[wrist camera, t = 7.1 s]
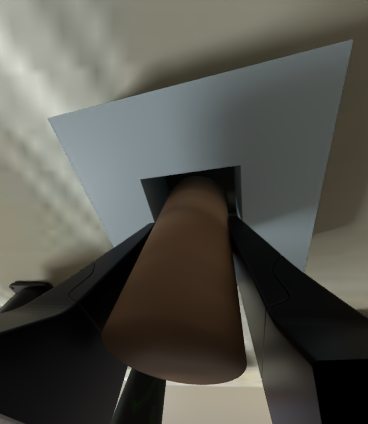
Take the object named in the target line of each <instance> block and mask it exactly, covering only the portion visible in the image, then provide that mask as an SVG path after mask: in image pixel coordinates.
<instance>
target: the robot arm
mask: <svg viewBox="0 0 368 424" xmlns="http://www.w3.org/2000/svg"><path fill="white" fill-rule="evenodd" d="M228 221H229V229H230V237H231V243H232V250H233V258H234V266H235V274H236V278H237V282H238V286H239V290H240V294H241V298H242V302H243V306H244V310H245V314H246V318H247V322H248V326H249V330H250V334H251V339H252V343H253V347H254V351H255V355H256V359H257V363H258V367H259V371H260V375H261V378H262V383H263V387H264V391H265V395H266V399H267V403H268V407H269V411H270V415H271V419H272V423H273V424H368V318H367V317H366V316H364V315H363V314H361V313H360V312H358V311H357V310H355V309H354V308H352V307H351V306H349V305H348V304H347V303H345V302H344V301H342V300H341V299H340V298H338V297H337V296H335V295H334V294H333V293H331V292H330V291H328V290H327V289H326V288H324V287H323V286H321V285H320V284H318V283H317V282H316V281H314V280H313V279H312V278H310V277H309V276H308V275H306V274H305V273H304V272H302V271H301V270H300V269H298V268H297V267H296V266H295V265H293V264H292V263H291V262H290V261H289V260H287V259H286V258H285V257H284V256H283V255H281V254H280V253H279V252H278V251H277V250H276V249H275V248H274V247H272V246H271V245H270V244H269V243H268V242H267V241H265V240H264V239H263V238H262V237H261V236H260V235H259V234H257V233H256V232H255V231H254V230H253V229H252V228H250V227H249V226H248V225H247V224H246V223H245V222H244V221H242V220H241V219H240V218H239V217H238V216H229V217H228ZM155 223H156V222H155ZM155 223H149V224H147V225H146V226H145V227H143V228H142V229H140V230H139V231H137V232H136V233H134V234H133V235H132V236H130V237H129V238H127V239H126V240H124V241H123V242H121V243H120V244H119V245H117V246H116V247H114V248H113V249H111V250H110V251H108V252H107V253H106V254H104V255H103V256H101V257H100V258H98V259H97V260H96V261H94V262H93V263H91V264H90V265H88V266H87V267H85V268H84V269H82V270H81V271H79V272H78V273H76V274H75V275H73V276H72V277H70V278H68V279H67V280H65V281H64V282H62V283H60V284H59V285H57V286H56V287H54V288H51V286H50V285H48V284H46V283H12V284H11V285H10V286H9V287H10V288H11V289H12V290H13V291H14V292H15V293H16V294H15V295H14V296H13V297H12V298H11V299H10V300H9V301H8V302H7V303H5V304H4V305H3V306H2V307H1V308H0V424H111V421H112V418H113V415H114V411H115V408H116V404H117V401H118V398H119V394H120V391H121V387H122V384H123V381H124V377H125V374H126V370H127V367H128V365H126V364H124V363H123V362H121V361H119V360H118V359H117V358H115V357H114V356H113V355H112V354H111V353H110V352H109V351H108V350H107V349H106V347H105V346H104V344H103V342H102V339H101V334H102V331H103V328H104V326H105V324H106V322H107V320H108V318H109V316H110V314H111V312H112V310H113V308H114V306H115V304H116V302H117V300H118V298H119V296H120V294H121V292H122V290H123V288H124V286H125V284H126V282H127V280H128V278H129V276H130V274H131V272H132V270H133V268H134V265H135V263H136V261H137V259H138V257H139V255H140V253H141V251H142V249H143V247H144V245H145V243H146V241H147V239H148V237H149V235H150V233H151V231H152V229H153V227H154V225H155Z"/></svg>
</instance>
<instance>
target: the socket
mask: <svg viewBox="0 0 368 424" xmlns="http://www.w3.org/2000/svg"><path fill="white" fill-rule="evenodd" d="M352 44H353V39H351V40H347V41H343V42H339V43H335V44H332V45H328V46H324V47H320V48H316V49H312V50H308V51H305V52H301V53H297V54H293V55H289V56H285V57H282V58H278V59H274V60H270V61H266V62H262V63H258V64H255V65H251V66H247V67H243V68H239V69H235V70H231V71H228V72H224V73H220V74H216V75H212V76H208V77H205V78H201V79H197V80H193V81H189V82H185V83H181V84H178V85H174V86H170V87H166V88H162V89H158V90H155V91H151V92H147V93H143V94H139V95H135V96H131V97H128V98H124V99H120V100H116V101H112V102H108V103H104V104H101V105H97V106H93V107H89V108H85V109H81V110H78V111H74V112H70V113H66V114H62V115H58V116H54V117H51V118H48V120H49V122H50V124H51V126H52V128H53V130H54V132H55V134H56V136H57V138H58V140H59V142H60V144H61V146H62V148H63V149H64V151H65V153H66V155H67V157H68V159H69V161H70V163H71V165H72V167H73V169H74V171H75V173H76V175H77V177H78V179H79V181H80V183H81V185H82V186H83V188H84V190H85V192H86V194H87V196H88V198H89V200H90V202H91V204H92V206H93V208H94V210H95V212H96V214H97V216H98V218H99V220H100V222H101V223H102V225H103V227H104V229H105V231H106V233H107V235H108V237H109V239H110V241H111V243H112V245H113V247H116V246H117V245H119V244H120V243H121V242H123V241H124V240H126V239H127V238H129V237H130V236H132V235H133V234H134V233H136V232H137V231H139V230H140V229H142V228H143V227H145V226H146V225H147V224H149V223H155V222H156V221H157V219H158V217H159V215H160V213H161V211H162V209H163V207H164V204H165V202H166V200H167V198H168V196H169V191H168V188H167V184H166V180H165V176H167V175H174V174H181V173H188V172H195V171H202V170H209V169H216V168H224V167H231V166H234V176H235V195H236V213H228V217H229V216H238V217H239V218H240V219H241V220H242V221H244V222H245V223H246V224H247V225H248V226H249V227H250V228H252V229H253V230H254V231H255V232H256V233H257V234H259V235H260V236H261V237H262V238H263V239H264V240H265V241H267V242H268V243H269V244H270V245H271V246H272V247H274V248H275V249H276V250H277V251H278V252H279V253H280V254H281V255H283V256H284V257H285V258H286V259H287V260H289V261H290V262H291V263H292V264H293V265H295V266H296V267H297V268H298V269H300V270H301V271H302V272H304V271H305V267H306V262H307V257H308V252H309V248H310V243H311V238H312V233H313V229H314V224H315V219H316V214H317V210H318V205H319V200H320V196H321V191H322V186H323V181H324V177H325V172H326V167H327V162H328V158H329V153H330V148H331V144H332V139H333V134H334V129H335V125H336V120H337V115H338V110H339V106H340V101H341V96H342V91H343V87H344V82H345V77H346V73H347V68H348V63H349V58H350V54H351V49H352ZM236 281H237V278H236ZM237 286H238V282H237Z"/></svg>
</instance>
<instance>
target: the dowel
mask: <svg viewBox="0 0 368 424" xmlns="http://www.w3.org/2000/svg"><path fill="white" fill-rule="evenodd" d="M101 339H102V342H103V344H104V346H105V347H106V349H107V350H108V351H109V352H110V353H111V354H112V355H113V356H114V357H115V358H117V359H118V360H119V361H121V362H123V363H124V364H126V365H128V366H129V367H131V368H133V369H136V370H138V371H140V372H143V373H145V374H148V375H151V376H154V377H157V378H160V379H164V380H168V381H173V382H179V383H185V384H198V385H209V384H219V383H225V382H228V381H232V380H234V379H236V378H238V377H239V376H241V375H242V374H243V373H244V372H245V370H246V366H247V361H246V353H245V345H244V337H243V329H242V321H241V313H240V305H239V297H238V289H237V281H236V274H235V266H234V258H233V250H232V243H231V237H230V229H229V221H228V210H227V202H226V196H225V193H224V191H223V189H222V188H221V187H220V186H219V185H218V184H217V183H216V182H215V181H213V180H211V179H209V178H207V177H203V176H191V177H187V178H184V179H182V180H181V181H179V182H178V183H177V184H176V185H175V186H174V187H173V189H172V190H171V192H170V194H169V196H168V198H167V200H166V202H165V204H164V207H163V209H162V211H161V213H160V215H159V217H158V219H157V221H156V223H155V225H154V227H153V229H152V231H151V233H150V235H149V237H148V239H147V241H146V243H145V245H144V247H143V249H142V251H141V253H140V255H139V257H138V259H137V261H136V263H135V265H134V268H133V270H132V272H131V274H130V276H129V278H128V280H127V282H126V284H125V286H124V288H123V290H122V292H121V294H120V296H119V298H118V300H117V302H116V304H115V306H114V308H113V310H112V312H111V314H110V316H109V318H108V320H107V322H106V324H105V326H104V328H103V331H102V334H101Z"/></svg>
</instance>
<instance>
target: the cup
mask: <svg viewBox="0 0 368 424" xmlns="http://www.w3.org/2000/svg"><path fill="white" fill-rule="evenodd" d="M165 387H166V380H164V379H160V378H157V377H154V376H151V375H148V374H145V373H143V372H140V371H138V370H136V369H133V368H132V369H131V371H130V374H129V377H128V379H127V382H126V384H125V387H124V390H123V392H122V395H121V397H120V400H119V402H118V405H117V408H116V410H115V413H114V415H113V418H112V421H111V424H162V414H163V405H164V396H165Z"/></svg>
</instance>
